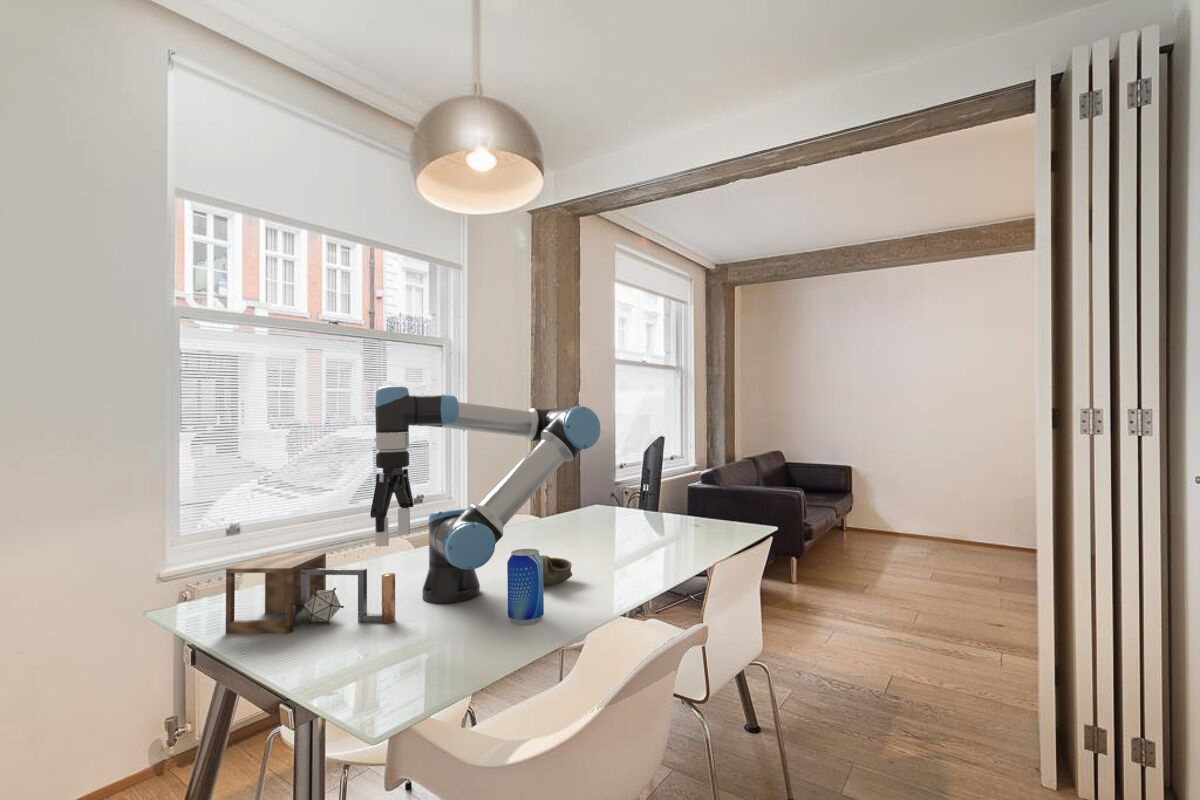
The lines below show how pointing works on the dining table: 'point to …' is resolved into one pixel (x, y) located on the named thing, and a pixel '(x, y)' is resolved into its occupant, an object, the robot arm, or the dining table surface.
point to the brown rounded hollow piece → (555, 570)
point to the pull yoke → (363, 616)
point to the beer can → (525, 586)
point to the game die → (322, 605)
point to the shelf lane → (274, 589)
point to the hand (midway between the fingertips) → (393, 540)
